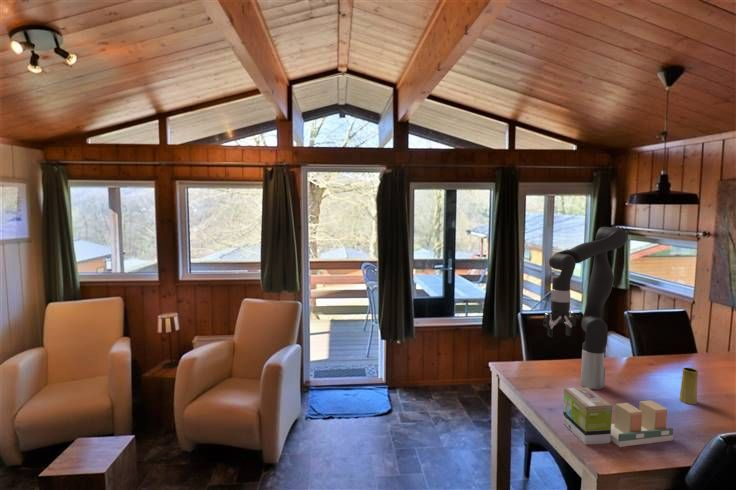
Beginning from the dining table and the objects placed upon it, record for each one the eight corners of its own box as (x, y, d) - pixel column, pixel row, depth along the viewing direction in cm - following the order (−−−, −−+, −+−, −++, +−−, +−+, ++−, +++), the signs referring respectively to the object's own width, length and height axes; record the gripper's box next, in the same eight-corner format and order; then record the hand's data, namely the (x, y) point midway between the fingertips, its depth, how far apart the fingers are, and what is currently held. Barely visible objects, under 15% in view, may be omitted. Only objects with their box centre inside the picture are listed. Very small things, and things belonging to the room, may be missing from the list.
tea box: (561, 423, 164) (563, 387, 162) (586, 422, 165) (587, 386, 163) (584, 445, 149) (586, 405, 147) (611, 444, 150) (613, 404, 148)
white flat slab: (647, 424, 162) (647, 414, 162) (672, 440, 152) (673, 429, 151) (597, 430, 158) (597, 419, 158) (620, 447, 147) (620, 435, 147)
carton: (625, 425, 158) (627, 402, 157) (641, 435, 151) (643, 411, 150) (614, 426, 157) (615, 403, 157) (629, 437, 150) (631, 413, 149)
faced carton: (649, 422, 160) (650, 400, 159) (666, 432, 153) (667, 409, 152) (638, 424, 159) (639, 401, 158) (654, 434, 152) (656, 410, 151)
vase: (693, 399, 184) (695, 368, 183) (699, 405, 178) (701, 373, 177) (677, 397, 186) (679, 366, 185) (682, 403, 180) (684, 371, 179)
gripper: (569, 297, 187) (568, 332, 188) (540, 298, 184) (539, 334, 185) (581, 300, 179) (579, 337, 181) (551, 302, 177) (549, 339, 178)
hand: (559, 336), depth 183 cm, fingers open, 8 cm apart
